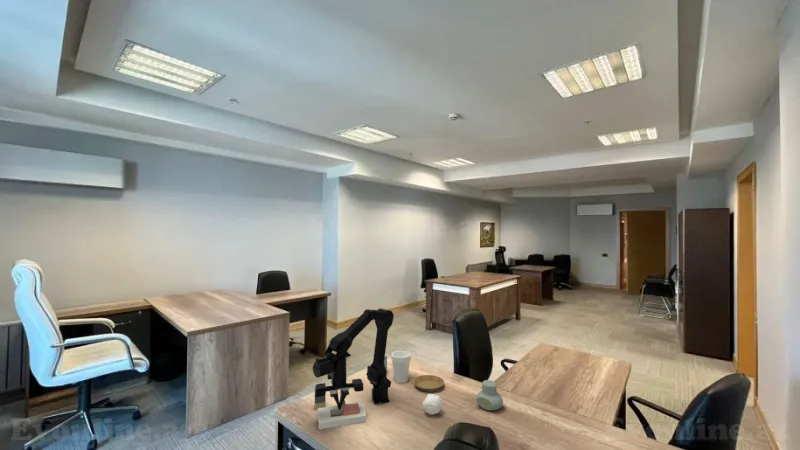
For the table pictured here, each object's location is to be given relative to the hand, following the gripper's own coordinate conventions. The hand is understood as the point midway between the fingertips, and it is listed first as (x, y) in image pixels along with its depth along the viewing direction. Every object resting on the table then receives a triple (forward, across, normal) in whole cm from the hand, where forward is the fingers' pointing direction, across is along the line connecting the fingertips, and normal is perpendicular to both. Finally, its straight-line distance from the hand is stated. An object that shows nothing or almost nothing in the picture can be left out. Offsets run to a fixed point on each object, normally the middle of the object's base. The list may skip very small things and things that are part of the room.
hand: (339, 409), depth 134 cm
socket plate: (+4, -1, 0) cm, 4 cm away
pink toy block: (+1, -4, 0) cm, 5 cm away
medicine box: (+4, -25, -36) cm, 44 cm away
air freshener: (+4, -62, +9) cm, 62 cm away
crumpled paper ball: (+4, -37, +7) cm, 38 cm away
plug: (+4, +7, -12) cm, 14 cm away
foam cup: (+4, -33, -26) cm, 42 cm away
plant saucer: (+4, -44, -16) cm, 47 cm away
